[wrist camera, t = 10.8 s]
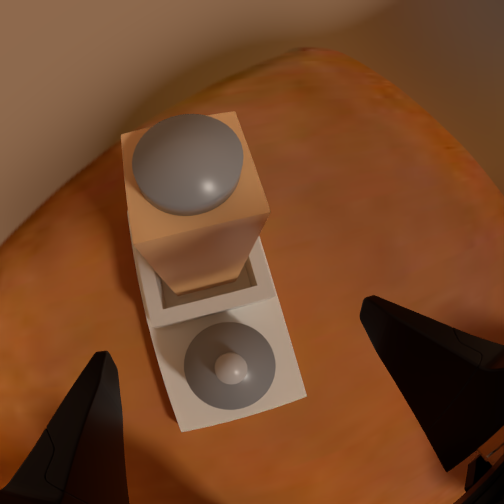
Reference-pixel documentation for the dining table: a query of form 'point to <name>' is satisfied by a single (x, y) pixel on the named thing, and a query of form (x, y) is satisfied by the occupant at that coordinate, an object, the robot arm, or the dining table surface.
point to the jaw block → (193, 199)
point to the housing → (221, 345)
